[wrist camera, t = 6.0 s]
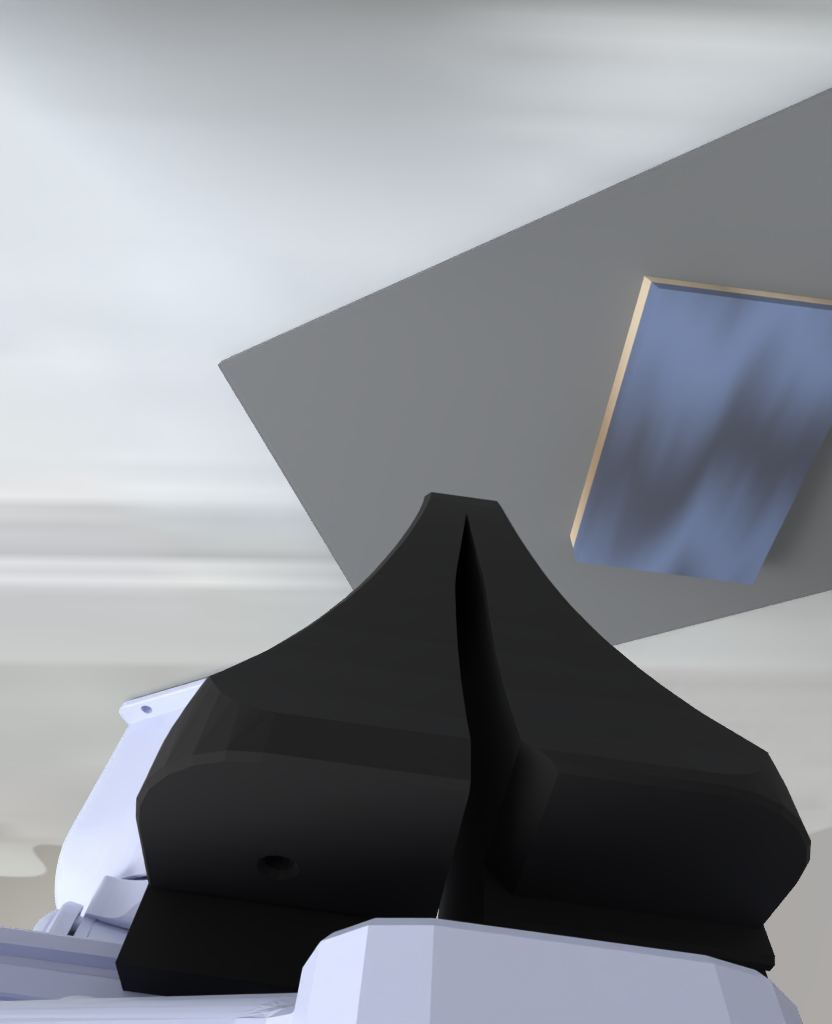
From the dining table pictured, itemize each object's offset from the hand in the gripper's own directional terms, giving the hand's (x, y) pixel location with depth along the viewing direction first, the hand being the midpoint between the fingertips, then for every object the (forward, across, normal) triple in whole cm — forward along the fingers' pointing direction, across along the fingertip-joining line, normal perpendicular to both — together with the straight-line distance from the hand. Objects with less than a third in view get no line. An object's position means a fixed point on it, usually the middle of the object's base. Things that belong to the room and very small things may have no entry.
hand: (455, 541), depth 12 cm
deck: (+9, -5, +1) cm, 10 cm away
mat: (+10, -5, +3) cm, 11 cm away
